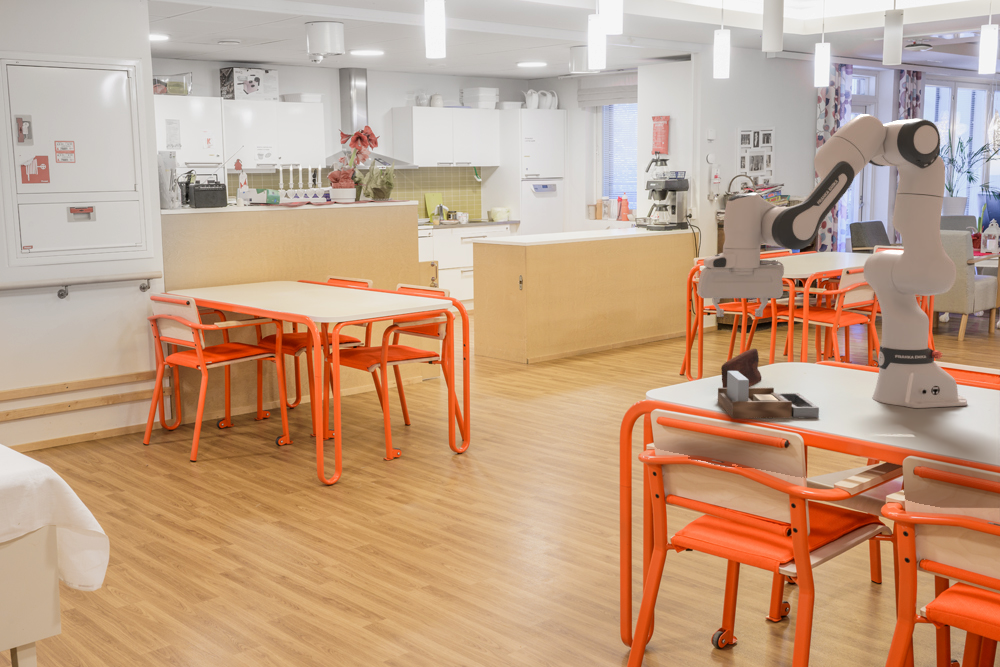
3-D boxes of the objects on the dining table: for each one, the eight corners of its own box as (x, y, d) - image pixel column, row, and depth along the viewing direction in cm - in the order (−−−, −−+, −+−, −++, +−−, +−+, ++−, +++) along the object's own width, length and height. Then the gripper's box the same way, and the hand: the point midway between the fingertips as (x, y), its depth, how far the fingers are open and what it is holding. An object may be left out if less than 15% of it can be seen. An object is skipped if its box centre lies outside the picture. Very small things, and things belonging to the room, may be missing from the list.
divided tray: (772, 402, 242) (772, 387, 242) (791, 418, 225) (791, 401, 225) (717, 403, 242) (718, 387, 242) (732, 418, 226) (733, 402, 225)
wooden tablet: (728, 398, 248) (726, 360, 247) (720, 397, 249) (718, 360, 248) (763, 381, 270) (762, 347, 268) (755, 381, 271) (754, 347, 270)
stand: (797, 402, 242) (797, 393, 242) (818, 417, 225) (818, 407, 225) (774, 402, 242) (774, 393, 242) (793, 418, 225) (793, 407, 225)
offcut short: (771, 402, 237) (771, 394, 236) (778, 408, 230) (778, 400, 229) (753, 402, 237) (753, 394, 237) (759, 408, 230) (760, 400, 230)
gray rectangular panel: (736, 405, 240) (737, 370, 239) (747, 416, 228) (748, 379, 227) (726, 405, 240) (727, 370, 239) (737, 416, 228) (738, 380, 227)
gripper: (780, 259, 232) (778, 314, 234) (697, 259, 232) (695, 314, 234) (787, 260, 225) (785, 318, 227) (702, 261, 226) (700, 318, 228)
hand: (739, 316), depth 231 cm, fingers open, 8 cm apart
